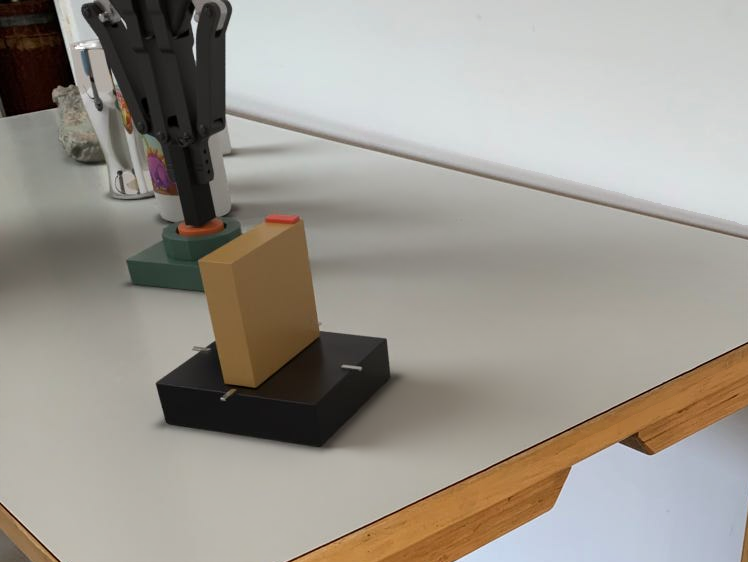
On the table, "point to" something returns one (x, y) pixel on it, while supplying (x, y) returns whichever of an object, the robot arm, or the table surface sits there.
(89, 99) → the beer glass
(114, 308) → the table surface
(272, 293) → the tan wooden block
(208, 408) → the black base
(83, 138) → the long grey stone
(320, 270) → the table surface
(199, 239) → the button block
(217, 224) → the button
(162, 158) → the milk bottle
